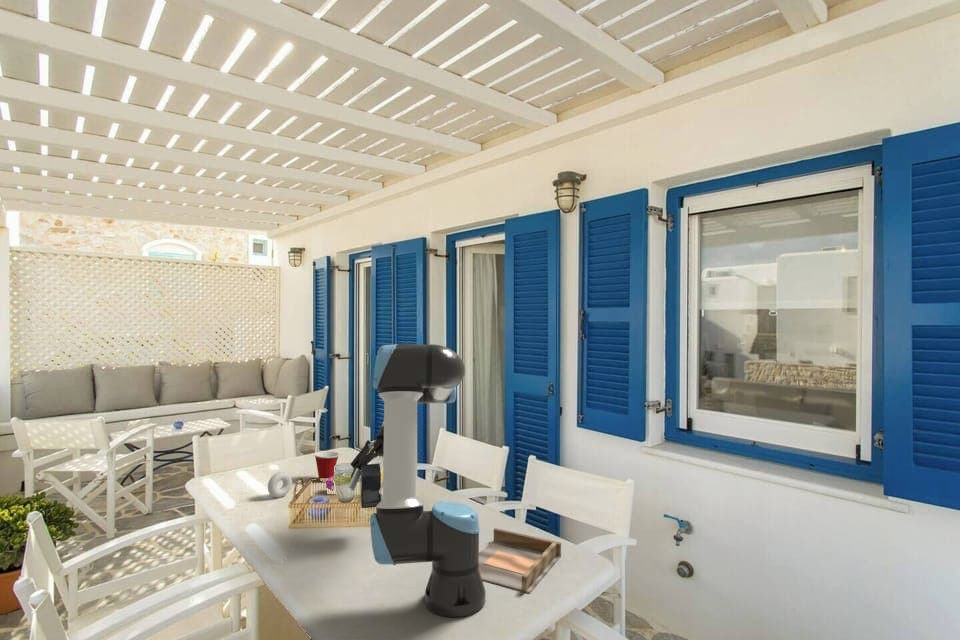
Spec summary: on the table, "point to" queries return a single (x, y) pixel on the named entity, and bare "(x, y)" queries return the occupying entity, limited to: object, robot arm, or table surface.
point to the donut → (285, 488)
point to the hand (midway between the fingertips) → (365, 491)
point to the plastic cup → (326, 463)
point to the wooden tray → (517, 560)
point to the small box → (370, 485)
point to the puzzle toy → (330, 484)
